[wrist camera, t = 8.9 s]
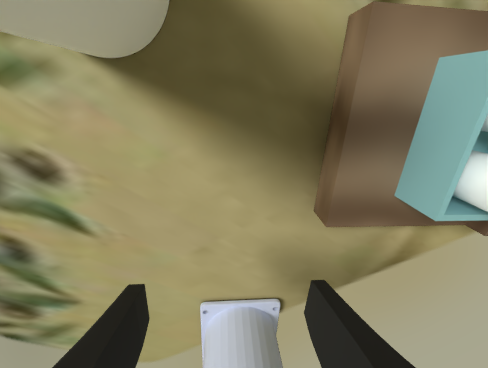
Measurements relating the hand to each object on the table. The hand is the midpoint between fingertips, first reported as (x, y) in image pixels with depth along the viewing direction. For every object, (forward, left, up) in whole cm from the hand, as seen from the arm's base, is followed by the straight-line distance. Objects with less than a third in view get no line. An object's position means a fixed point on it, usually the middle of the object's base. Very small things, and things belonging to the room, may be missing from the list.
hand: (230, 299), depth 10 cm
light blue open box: (+6, -15, -7) cm, 18 cm away
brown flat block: (+6, -14, -9) cm, 18 cm away
